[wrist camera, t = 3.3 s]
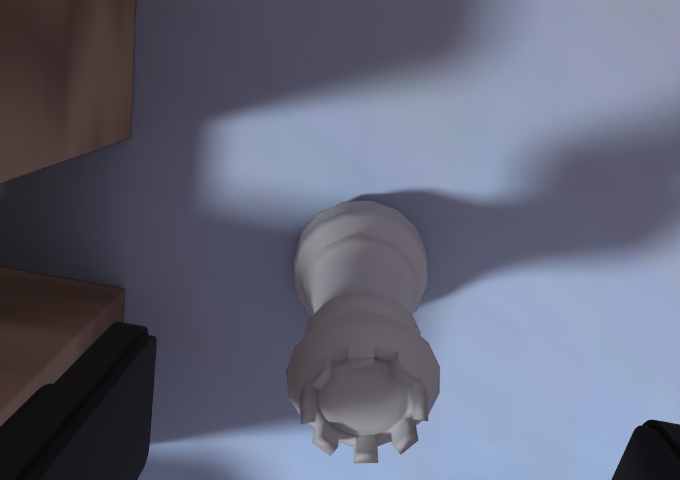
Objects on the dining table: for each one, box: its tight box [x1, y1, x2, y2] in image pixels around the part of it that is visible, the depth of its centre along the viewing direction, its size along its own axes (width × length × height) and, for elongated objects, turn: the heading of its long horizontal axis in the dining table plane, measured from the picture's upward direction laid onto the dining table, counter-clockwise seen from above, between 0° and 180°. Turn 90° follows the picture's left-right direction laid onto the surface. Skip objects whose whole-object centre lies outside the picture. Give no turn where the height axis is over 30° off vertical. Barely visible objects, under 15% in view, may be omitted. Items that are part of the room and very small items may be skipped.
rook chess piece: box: [286, 201, 440, 463], centre depth 14 cm, size 4×4×8 cm
